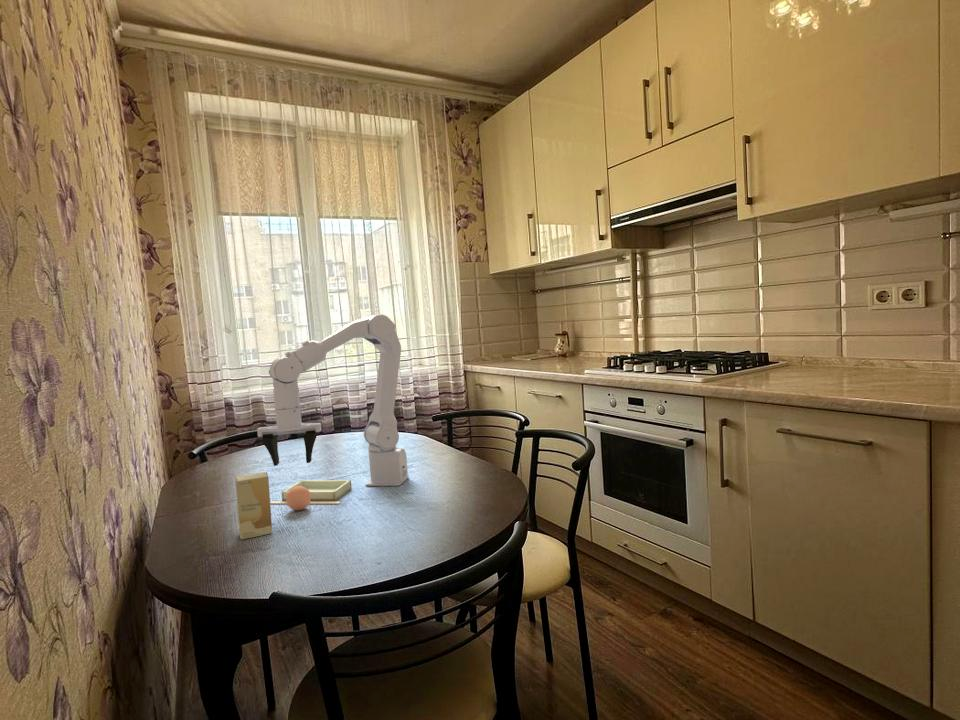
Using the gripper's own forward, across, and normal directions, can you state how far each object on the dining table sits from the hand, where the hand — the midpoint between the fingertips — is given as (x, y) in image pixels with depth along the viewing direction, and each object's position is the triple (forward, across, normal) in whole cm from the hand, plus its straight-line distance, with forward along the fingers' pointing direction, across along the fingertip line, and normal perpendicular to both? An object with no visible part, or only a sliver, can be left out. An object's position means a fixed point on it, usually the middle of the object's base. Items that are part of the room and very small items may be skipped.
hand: (292, 463), depth 132 cm
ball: (+7, -2, +6) cm, 9 cm away
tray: (+10, -4, -5) cm, 11 cm away
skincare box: (+10, +4, +19) cm, 22 cm away
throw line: (+10, -2, +2) cm, 10 cm away
